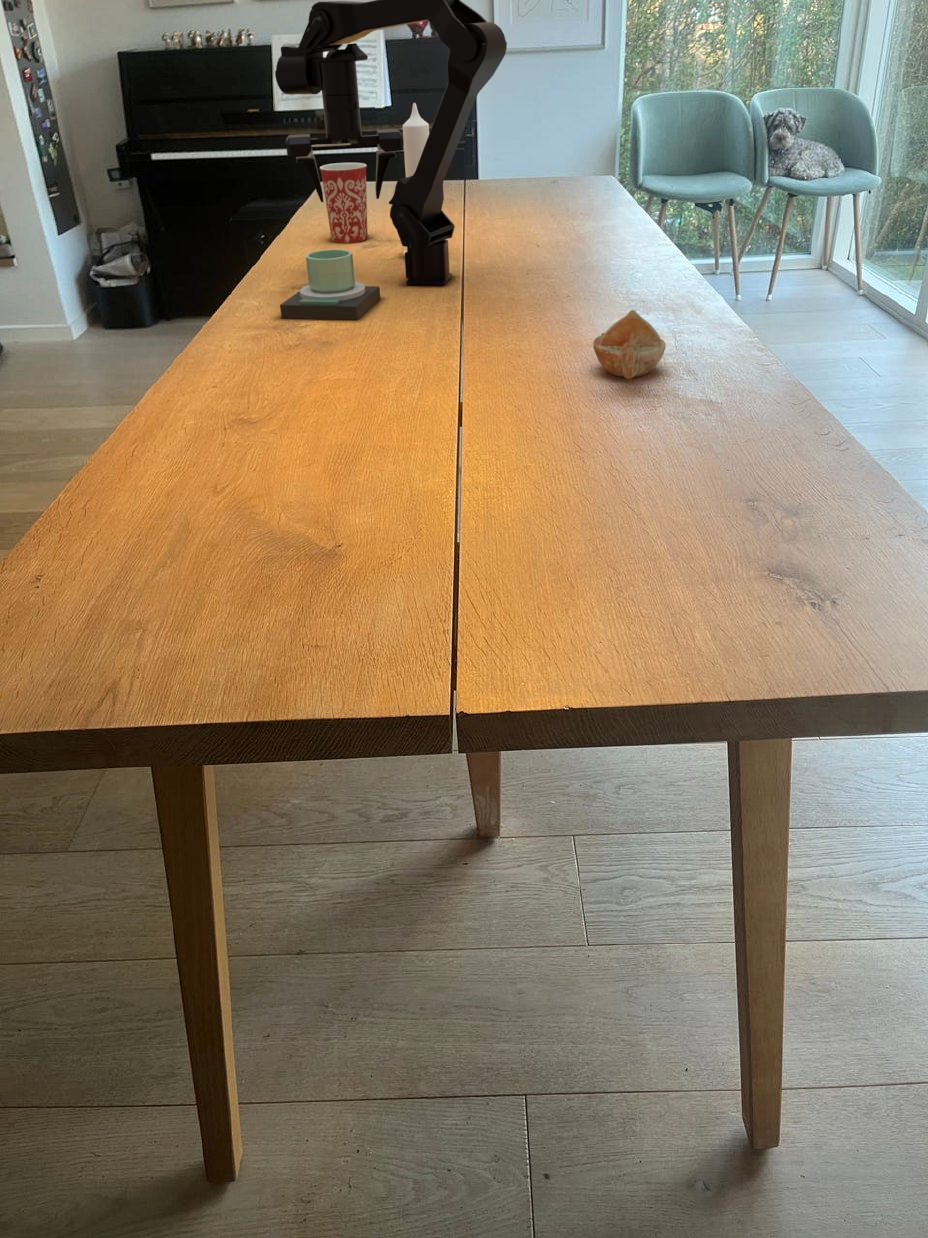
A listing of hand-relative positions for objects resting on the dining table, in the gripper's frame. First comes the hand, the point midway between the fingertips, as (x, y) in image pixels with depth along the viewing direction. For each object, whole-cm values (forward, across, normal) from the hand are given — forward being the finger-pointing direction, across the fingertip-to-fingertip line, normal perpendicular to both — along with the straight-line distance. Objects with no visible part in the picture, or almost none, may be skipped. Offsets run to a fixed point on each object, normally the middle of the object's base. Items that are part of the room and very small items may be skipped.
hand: (350, 200), depth 164 cm
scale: (+12, +5, +22) cm, 25 cm away
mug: (+12, 0, -33) cm, 35 cm away
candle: (+12, -13, -11) cm, 21 cm away
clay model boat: (+12, -31, +61) cm, 70 cm away
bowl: (+9, +4, +21) cm, 23 cm away
